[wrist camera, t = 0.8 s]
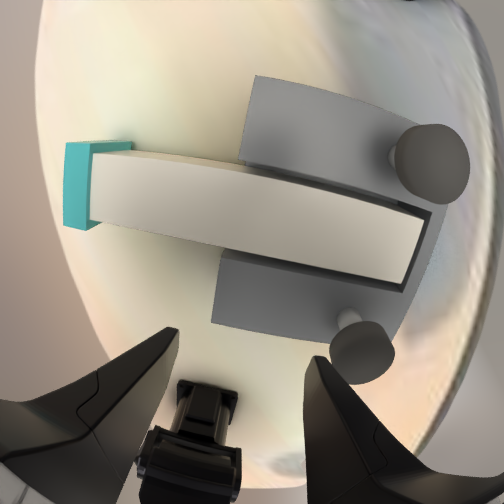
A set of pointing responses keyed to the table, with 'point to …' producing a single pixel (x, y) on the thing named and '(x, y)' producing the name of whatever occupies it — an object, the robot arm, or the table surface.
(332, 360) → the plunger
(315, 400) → the robot arm
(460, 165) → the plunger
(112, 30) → the table surface
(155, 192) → the bar
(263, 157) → the housing
